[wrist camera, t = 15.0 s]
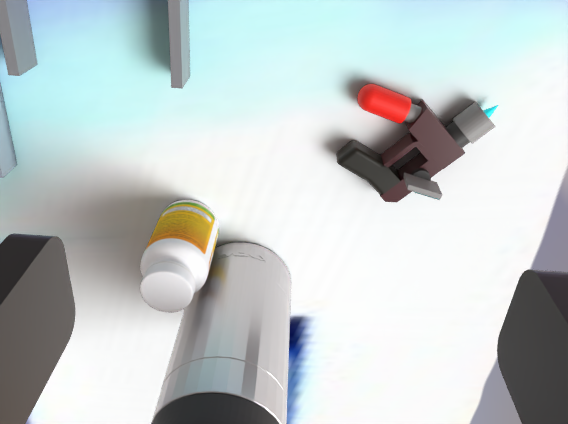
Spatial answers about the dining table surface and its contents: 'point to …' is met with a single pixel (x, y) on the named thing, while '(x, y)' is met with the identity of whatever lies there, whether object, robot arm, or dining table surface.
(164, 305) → the supplement bottle
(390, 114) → the toy gun
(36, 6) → the dining table surface
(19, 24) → the cradle
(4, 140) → the tray
